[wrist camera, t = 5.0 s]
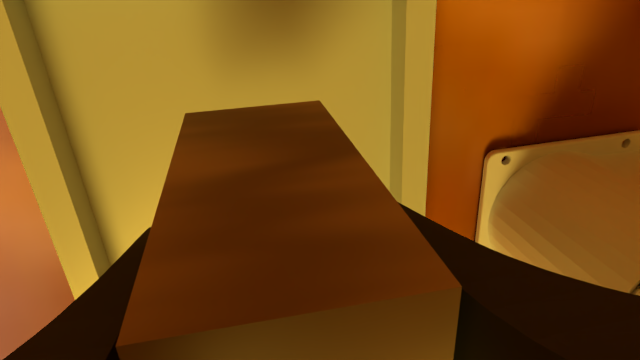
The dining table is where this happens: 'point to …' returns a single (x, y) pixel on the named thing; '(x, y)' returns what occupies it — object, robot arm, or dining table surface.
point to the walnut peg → (283, 251)
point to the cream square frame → (197, 97)
